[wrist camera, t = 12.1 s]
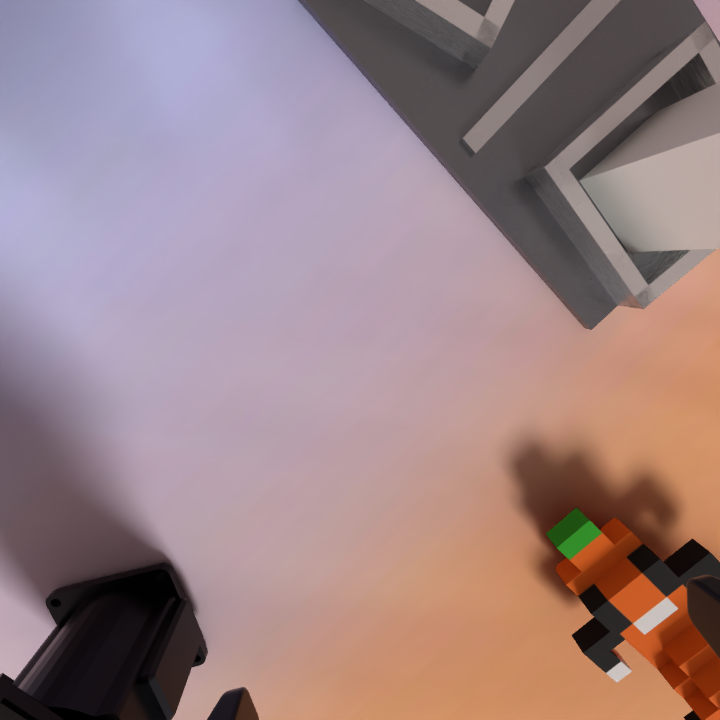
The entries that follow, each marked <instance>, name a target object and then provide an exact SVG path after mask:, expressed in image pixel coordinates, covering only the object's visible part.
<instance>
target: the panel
mask: <svg viewBox="0 0 720 720" xmlns="http://www.w3.org/2000/svg"><path fill="white" fill-rule="evenodd" d="M299 1H300V3H301V4H302V5H303V6H304V7H305V8H306V9H307V11H308V12H309V13H310V14H311V15H312V16H313V17H314V19H315V20H316V21H317V22H318V23H319V24H320V25H321V27H322V28H323V29H324V30H325V31H326V32H327V33H328V35H329V36H330V37H331V38H332V39H333V40H334V41H335V43H336V44H337V45H338V46H339V47H340V48H341V49H342V51H343V52H344V53H345V54H346V55H347V56H348V57H349V59H350V60H351V61H352V62H353V63H354V64H355V66H356V67H357V68H358V69H359V70H360V71H361V72H362V74H363V75H364V76H365V77H366V78H367V79H368V80H369V82H370V83H371V84H372V85H373V86H374V87H375V88H376V90H377V91H378V92H379V93H380V94H381V95H382V96H383V98H384V99H385V100H386V101H387V102H388V103H389V104H390V106H391V107H392V108H393V109H394V110H395V111H396V112H397V114H398V115H399V116H400V117H401V118H402V119H403V120H404V122H405V123H406V124H407V125H408V126H409V127H410V128H411V130H412V131H413V132H414V133H415V134H416V135H417V136H418V138H419V139H420V140H421V141H422V142H423V143H424V144H425V146H426V147H427V148H428V149H429V150H430V151H431V153H432V154H433V155H434V156H435V157H436V158H437V159H438V161H439V162H440V163H441V164H442V165H443V166H444V167H445V169H446V170H447V171H448V172H449V173H450V174H451V175H452V177H453V178H454V179H455V180H456V181H457V182H458V183H459V185H460V186H461V187H462V188H463V189H464V190H465V191H466V193H467V194H468V195H469V196H470V197H471V198H472V199H473V201H474V202H475V203H476V204H477V205H478V206H479V207H480V209H481V210H482V211H483V212H484V213H485V214H486V215H487V217H488V218H489V219H490V220H491V221H492V222H493V223H494V225H495V226H496V227H497V228H498V229H499V230H500V231H501V233H502V234H503V235H504V236H505V237H506V238H507V239H508V241H509V242H510V243H511V244H512V245H513V246H514V248H515V249H516V250H517V251H518V252H519V253H520V254H521V256H522V257H523V258H524V259H525V260H526V261H527V262H528V264H529V265H530V266H531V267H532V268H533V269H534V270H535V272H536V273H537V274H538V275H539V276H540V277H541V278H542V280H543V281H544V282H545V283H546V284H547V285H548V286H549V288H550V289H551V290H552V291H553V292H554V293H555V294H556V296H557V297H558V298H559V299H560V300H561V301H562V302H563V304H564V305H565V306H566V307H567V308H568V309H569V310H570V312H571V313H572V314H573V315H574V316H575V317H576V318H577V320H578V321H579V322H580V323H581V324H582V325H583V326H584V328H586V329H590V330H592V329H593V328H594V327H595V326H596V325H597V324H598V323H599V322H600V321H601V320H603V319H604V318H605V317H606V316H607V315H608V314H609V313H610V312H611V311H612V310H613V309H614V308H615V307H616V306H618V305H617V304H616V303H615V301H614V300H613V299H612V297H611V296H610V294H609V293H608V292H607V290H606V289H605V288H604V286H603V285H602V283H601V282H600V281H599V279H598V278H597V276H596V275H595V274H594V272H593V271H592V269H591V268H590V267H589V265H588V264H587V262H586V261H585V260H584V258H583V257H582V255H581V254H580V253H579V251H578V250H577V248H576V247H575V246H574V244H573V243H572V241H571V240H570V239H569V237H568V236H567V234H566V233H565V232H564V230H563V229H562V227H561V226H560V225H559V223H558V222H557V221H556V219H555V218H554V216H553V215H552V214H551V212H550V211H549V209H548V208H547V207H546V205H545V204H544V202H543V201H542V200H541V198H540V197H539V195H538V194H537V193H536V191H535V190H534V188H533V187H532V186H531V184H530V183H529V181H528V180H527V179H526V177H525V176H526V175H527V174H528V173H529V172H530V171H532V170H533V169H534V168H535V167H536V166H537V165H538V164H539V163H540V162H541V161H542V160H544V159H545V158H546V157H547V156H548V155H549V154H550V153H551V152H552V151H553V150H555V149H556V148H557V147H558V146H559V145H560V144H561V143H562V142H563V141H564V140H566V139H567V138H568V137H569V136H570V135H571V134H572V133H573V132H574V131H575V130H577V129H578V128H579V127H580V126H581V125H582V124H583V123H584V122H585V121H586V120H587V119H589V118H590V117H591V116H592V115H593V114H594V113H595V112H596V111H597V110H598V109H600V108H601V107H602V106H603V105H604V104H605V103H606V102H607V101H608V100H609V99H611V98H612V97H613V96H614V95H615V94H616V93H617V92H618V91H619V90H620V89H622V88H623V87H624V86H625V85H626V84H627V83H628V82H629V81H630V80H631V79H632V78H634V77H635V76H636V75H637V74H638V73H639V72H640V71H641V70H642V69H643V68H645V67H646V66H647V65H648V64H649V63H650V62H651V61H652V60H653V59H654V58H656V57H657V56H658V55H659V54H660V53H661V52H662V51H663V50H664V49H665V48H667V47H668V46H669V45H670V44H671V43H673V42H675V41H676V40H678V39H679V38H681V37H682V36H684V35H685V34H687V33H688V32H690V31H691V30H693V29H694V28H696V27H697V26H699V25H700V24H702V23H703V22H705V21H706V20H705V18H704V17H703V15H702V14H701V12H700V10H699V9H698V7H697V6H696V4H695V3H694V1H693V0H514V3H513V5H512V7H511V9H510V11H509V13H508V15H507V17H506V19H505V21H504V23H503V25H502V27H501V29H500V31H499V34H498V36H497V38H496V40H495V42H494V44H493V46H492V48H491V50H490V51H489V52H488V54H487V55H486V56H485V58H484V59H483V61H482V62H481V63H480V65H479V66H478V67H477V69H476V70H475V69H474V68H472V67H470V66H469V65H467V64H466V63H464V62H462V61H461V60H459V59H458V58H456V57H454V56H453V55H451V54H449V53H448V52H446V51H445V50H443V49H441V48H440V47H438V46H437V45H435V44H433V43H432V42H430V41H428V40H427V39H425V38H424V37H422V36H420V35H419V34H417V33H415V32H414V31H412V30H411V29H409V28H407V27H406V26H404V25H403V24H401V23H399V22H398V21H396V20H394V19H393V18H391V17H390V16H388V15H386V14H385V13H383V12H382V11H380V10H378V9H377V8H375V7H373V6H372V5H370V4H369V3H367V2H365V1H364V0H299ZM458 1H460V2H461V3H463V4H465V5H466V6H468V7H469V8H471V9H472V10H474V11H475V12H477V13H479V14H480V15H482V14H483V12H484V10H485V8H486V6H487V4H488V2H489V0H458ZM706 23H707V22H706ZM707 24H708V23H707ZM708 26H709V25H708ZM709 28H710V26H709ZM710 30H711V32H712V34H713V36H714V37H715V39H716V41H717V43H718V45H719V47H720V42H719V41H718V39H717V37H716V36H715V34H714V33H713V31H712V29H711V28H710ZM678 101H680V100H679V98H678V96H677V95H676V93H675V91H674V90H673V88H672V86H671V84H670V83H669V81H667V82H665V83H664V84H663V85H662V86H661V87H660V88H659V89H658V90H657V91H655V92H654V93H653V94H652V95H651V96H650V97H649V98H648V99H647V100H645V101H644V102H643V103H642V104H641V105H640V106H639V107H638V108H637V109H635V110H634V111H633V112H632V113H631V114H630V115H629V116H628V117H627V118H625V119H624V120H623V121H622V122H621V123H620V124H619V125H618V126H617V127H615V128H614V129H613V130H612V131H611V132H610V133H609V134H608V135H606V136H605V137H604V138H603V139H602V140H601V141H600V142H599V143H598V144H596V145H595V146H594V147H593V148H592V149H591V150H590V151H589V152H588V153H586V154H585V155H584V156H583V157H582V158H581V159H580V160H579V161H578V162H576V163H575V164H574V165H573V166H572V167H571V168H570V169H569V170H570V171H571V173H572V174H573V176H574V177H575V179H576V180H577V182H578V183H579V185H580V186H581V187H582V189H583V190H584V192H585V193H586V195H587V196H588V198H589V199H590V201H591V202H592V204H593V205H594V206H595V208H596V209H597V211H598V212H599V214H600V215H601V217H602V218H603V220H604V221H605V223H606V224H607V226H608V227H609V228H610V230H611V231H612V233H613V234H614V236H615V237H616V239H617V240H618V242H619V243H620V245H621V246H622V247H623V249H624V250H625V252H626V253H627V255H628V256H629V258H630V259H631V261H632V262H633V264H634V265H635V266H636V268H637V269H640V268H641V267H642V266H643V265H644V264H646V263H647V262H648V261H649V260H650V259H651V258H653V257H654V256H655V255H656V254H657V253H659V252H660V251H647V252H628V251H627V250H626V248H625V247H624V245H623V244H622V243H621V241H620V240H619V238H618V237H617V235H616V234H615V232H614V231H613V229H612V228H611V226H610V225H609V224H608V222H607V221H606V219H605V218H604V216H603V215H602V213H601V212H600V210H599V209H598V208H597V206H596V205H595V203H594V202H593V200H592V199H591V197H590V196H589V194H588V193H587V191H586V190H585V189H584V187H583V186H582V184H581V183H580V180H581V179H582V178H583V177H584V176H585V175H586V174H587V173H589V172H590V171H591V170H592V169H593V168H594V167H595V166H596V165H597V164H599V163H600V162H601V161H602V160H603V159H604V158H605V157H606V156H608V155H609V154H610V153H611V152H612V151H613V150H614V149H615V148H616V147H618V146H619V145H620V144H621V143H622V142H623V141H624V140H625V139H627V138H628V137H629V136H630V135H631V134H632V133H633V132H634V131H635V130H637V129H638V128H639V127H640V126H641V125H642V124H643V123H644V122H646V121H647V120H648V119H649V118H650V117H651V116H652V115H653V114H654V113H656V112H657V111H659V110H661V109H664V108H666V107H668V106H670V105H672V104H674V103H676V102H678Z"/></svg>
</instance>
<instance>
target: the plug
mask: <svg viewBox="0 0 720 720" xmlns="http://www.w3.org/2000/svg"><path fill="white" fill-rule="evenodd" d="M580 183H581V184H582V186H583V187H584V189H585V190H586V191H587V193H588V194H589V196H590V197H591V199H592V200H593V202H594V203H595V205H596V206H597V208H598V209H599V210H600V212H601V213H602V215H603V216H604V218H605V219H606V221H607V222H608V224H609V225H610V226H611V228H612V229H613V231H614V232H615V234H616V235H617V237H618V238H619V240H620V241H621V243H622V244H623V245H624V247H625V248H626V250H627V251H628V252H647V251H671V250H696V249H720V82H718V83H716V84H714V85H712V86H710V87H708V88H706V89H704V90H702V91H699V92H697V93H695V94H693V95H691V96H689V97H687V98H685V99H683V100H680V101H678V102H676V103H674V104H672V105H670V106H668V107H666V108H664V109H661V110H659V111H657V112H656V113H654V114H653V115H652V116H651V117H650V118H649V119H648V120H647V121H646V122H644V123H643V124H642V125H641V126H640V127H639V128H638V129H637V130H635V131H634V132H633V133H632V134H631V135H630V136H629V137H628V138H627V139H625V140H624V141H623V142H622V143H621V144H620V145H619V146H618V147H616V148H615V149H614V150H613V151H612V152H611V153H610V154H609V155H608V156H606V157H605V158H604V159H603V160H602V161H601V162H600V163H599V164H597V165H596V166H595V167H594V168H593V169H592V170H591V171H590V172H589V173H587V174H586V175H585V176H584V177H583V178H582V179H581V180H580Z"/></svg>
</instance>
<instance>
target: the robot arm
mask: <svg viewBox="0 0 720 720" xmlns="http://www.w3.org/2000/svg"><path fill="white" fill-rule="evenodd" d="M160 573H162V574H164V575H161V574H160ZM46 606H47V608H48V609H49V611H50V613H51V615H52V617H53V619H54V621H55V622H56V624H57V626H56V627H55V629H54V630H53V631H52V633H51V634H50V635H49V636H48V638H47V639H46V640H45V642H44V643H43V644H42V645H41V647H40V648H39V649H38V651H37V652H36V653H35V655H34V656H33V657H32V658H31V660H30V661H29V662H28V664H27V665H26V666H25V668H24V669H23V670H22V671H21V673H20V674H19V675H18V677H17V678H16V679H15V681H14V680H13V679H11V678H10V677H8V676H7V675H5V674H4V673H2V674H0V720H172V718H173V716H174V715H175V713H176V710H177V707H178V705H179V702H180V699H181V696H182V693H183V690H184V688H185V685H186V682H187V679H188V676H189V674H190V671H191V668H192V667H195V666H199V665H201V664H203V663H204V662H205V659H206V656H207V653H208V650H207V647H206V645H205V643H204V640H203V638H202V637H203V635H202V632H201V630H200V628H199V625H198V623H197V621H196V618H195V616H194V614H193V611H192V609H191V606H190V604H189V602H188V600H187V599H186V598H185V596H184V593H183V591H182V589H181V586H180V584H179V582H178V579H177V577H176V575H175V572H174V570H173V568H172V567H171V566H170V565H168V564H165V563H161V564H157V565H153V566H149V567H144V568H140V569H136V570H132V571H128V572H124V573H120V574H116V575H112V576H108V577H104V578H100V579H96V580H92V581H88V582H84V583H80V584H75V585H71V586H67V587H63V588H59V589H56V590H54V591H53V592H52V593H51V594H50V595H49V597H48V598H47V599H46ZM687 610H688V614H689V617H690V619H691V621H692V623H693V624H694V626H695V627H696V628H697V630H698V631H699V632H700V634H701V635H702V636H703V638H704V639H705V640H706V642H707V643H708V644H709V646H710V647H711V648H712V650H713V651H714V652H715V653H716V655H717V656H718V657H719V659H720V579H719V578H717V577H714V576H711V575H703V576H699V577H694V578H691V579H689V580H688V581H687ZM207 720H259V718H258V714H257V712H256V709H255V707H254V704H253V702H252V699H251V697H250V694H249V692H248V690H247V689H246V688H244V687H241V688H237V689H233V690H229V691H227V692H225V693H224V694H223V695H222V697H221V698H220V700H219V701H218V703H217V705H216V706H215V708H214V709H213V711H212V712H211V714H210V716H209V717H208V719H207Z"/></svg>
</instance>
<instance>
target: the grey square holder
mask: <svg viewBox="0 0 720 720" xmlns="http://www.w3.org/2000/svg"><path fill="white" fill-rule="evenodd" d="M667 81H669V83H670V84H671V86H672V88H673V90H674V91H675V93H676V95H677V96H678V98H679V100H683V99H685V98H687V97H689V96H691V95H693V94H695V93H697V92H699V91H702V90H704V89H706V88H708V87H710V86H712V85H714V84H716V83H718V82H720V47H719V45H718V43H717V41H716V39H715V37H714V36H713V34H712V32H711V30H710V28H709V26H708V24H707V23H706V21H705V22H703V23H702V24H700V25H699V26H697V27H696V28H694V29H693V30H691V31H690V32H688V33H687V34H685V35H684V36H682V37H681V38H679V39H678V40H676V41H675V42H673V43H671V44H670V45H669V46H668V47H667V48H665V49H664V50H663V51H662V52H661V53H660V54H659V55H658V56H657V57H656V58H654V59H653V60H652V61H651V62H650V63H649V64H648V65H647V66H646V67H645V68H643V69H642V70H641V71H640V72H639V73H638V74H637V75H636V76H635V77H634V78H632V79H631V80H630V81H629V82H628V83H627V84H626V85H625V86H624V87H623V88H622V89H620V90H619V91H618V92H617V93H616V94H615V95H614V96H613V97H612V98H611V99H609V100H608V101H607V102H606V103H605V104H604V105H603V106H602V107H601V108H600V109H598V110H597V111H596V112H595V113H594V114H593V115H592V116H591V117H590V118H589V119H587V120H586V121H585V122H584V123H583V124H582V125H581V126H580V127H579V128H578V129H577V130H575V131H574V132H573V133H572V134H571V135H570V136H569V137H568V138H567V139H566V140H564V141H563V142H562V143H561V144H560V145H559V146H558V147H557V148H556V149H555V150H553V151H552V152H551V153H550V154H549V155H548V156H547V157H546V158H545V159H544V160H542V161H541V162H540V163H539V164H538V165H537V166H536V167H535V168H534V169H533V170H532V171H530V172H529V173H528V174H527V175H526V176H525V177H526V179H527V180H528V181H529V183H530V184H531V186H532V187H533V188H534V190H535V191H536V193H537V194H538V195H539V197H540V198H541V200H542V201H543V202H544V204H545V205H546V207H547V208H548V209H549V211H550V212H551V214H552V215H553V216H554V218H555V219H556V221H557V222H558V223H559V225H560V226H561V227H562V229H563V230H564V232H565V233H566V234H567V236H568V237H569V239H570V240H571V241H572V243H573V244H574V246H575V247H576V248H577V250H578V251H579V253H580V254H581V255H582V257H583V258H584V260H585V261H586V262H587V264H588V265H589V267H590V268H591V269H592V271H593V272H594V274H595V275H596V276H597V278H598V279H599V281H600V282H601V283H602V285H603V286H604V288H605V289H606V290H607V292H608V293H609V294H610V296H611V297H612V299H613V300H614V301H615V303H616V304H617V305H619V306H626V307H633V308H639V309H644V308H645V307H646V306H648V305H649V304H650V303H651V302H653V301H654V300H655V299H656V298H657V297H659V296H660V295H661V294H662V293H663V292H665V291H666V290H667V289H668V288H669V287H671V286H672V285H673V284H674V283H676V282H677V281H678V280H679V279H680V278H682V277H683V276H684V275H685V274H686V273H688V272H689V271H690V270H691V269H693V268H694V267H695V266H696V265H697V264H699V263H700V262H701V261H702V260H703V259H705V258H706V257H707V256H708V255H709V254H711V253H712V252H713V251H714V250H716V249H696V250H671V251H660V252H659V253H657V254H656V255H655V256H654V257H653V258H651V259H650V260H649V261H648V262H647V263H646V264H644V265H643V266H642V267H641V268H640V269H637V268H636V266H635V265H634V264H633V262H632V261H631V259H630V258H629V256H628V255H627V253H626V252H625V250H624V249H623V247H622V246H621V245H620V243H619V242H618V240H617V239H616V237H615V236H614V234H613V233H612V231H611V230H610V228H609V227H608V226H607V224H606V223H605V221H604V220H603V218H602V217H601V215H600V214H599V212H598V211H597V209H596V208H595V206H594V205H593V204H592V202H591V201H590V199H589V198H588V196H587V195H586V193H585V192H584V190H583V189H582V187H581V186H580V185H579V183H578V182H577V180H576V179H575V177H574V176H573V174H572V173H571V171H570V170H569V169H570V168H571V167H572V166H573V165H574V164H575V163H576V162H578V161H579V160H580V159H581V158H582V157H583V156H584V155H585V154H586V153H588V152H589V151H590V150H591V149H592V148H593V147H594V146H595V145H596V144H598V143H599V142H600V141H601V140H602V139H603V138H604V137H605V136H606V135H608V134H609V133H610V132H611V131H612V130H613V129H614V128H615V127H617V126H618V125H619V124H620V123H621V122H622V121H623V120H624V119H625V118H627V117H628V116H629V115H630V114H631V113H632V112H633V111H634V110H635V109H637V108H638V107H639V106H640V105H641V104H642V103H643V102H644V101H645V100H647V99H648V98H649V97H650V96H651V95H652V94H653V93H654V92H655V91H657V90H658V89H659V88H660V87H661V86H662V85H663V84H664V83H665V82H667Z"/></svg>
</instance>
